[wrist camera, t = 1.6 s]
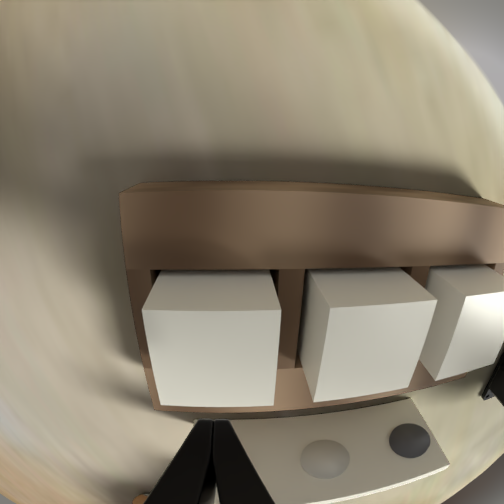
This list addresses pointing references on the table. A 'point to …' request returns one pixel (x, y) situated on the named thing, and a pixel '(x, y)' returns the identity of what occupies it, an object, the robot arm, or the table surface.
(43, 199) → the table surface
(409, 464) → the card
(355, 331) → the button mid
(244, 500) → the robot arm
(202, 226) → the board
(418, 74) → the table surface
